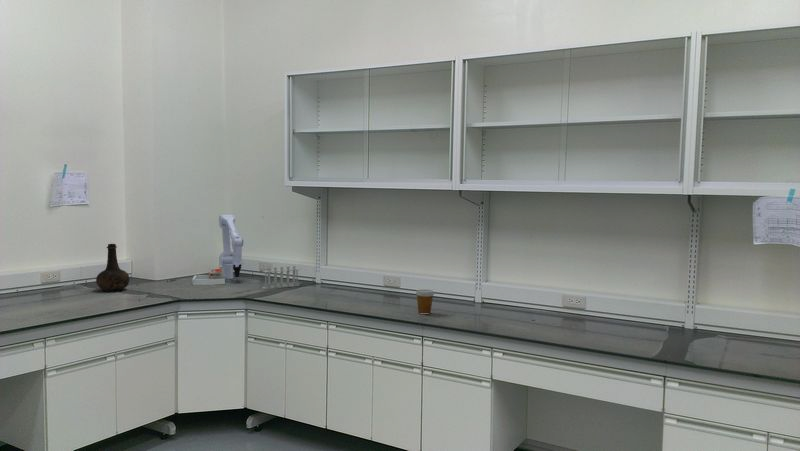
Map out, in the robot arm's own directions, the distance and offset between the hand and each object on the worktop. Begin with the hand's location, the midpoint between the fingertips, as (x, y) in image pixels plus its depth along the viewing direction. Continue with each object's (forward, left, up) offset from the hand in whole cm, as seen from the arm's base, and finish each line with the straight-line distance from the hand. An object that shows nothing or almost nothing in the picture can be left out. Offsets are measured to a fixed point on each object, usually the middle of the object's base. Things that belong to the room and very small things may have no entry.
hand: (237, 276), depth 390 cm
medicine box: (0, -14, -4) cm, 14 cm away
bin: (0, -18, -4) cm, 18 cm away
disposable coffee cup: (+112, +96, -4) cm, 148 cm away
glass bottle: (+22, -72, -4) cm, 75 cm away
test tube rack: (+23, +28, -4) cm, 36 cm away
